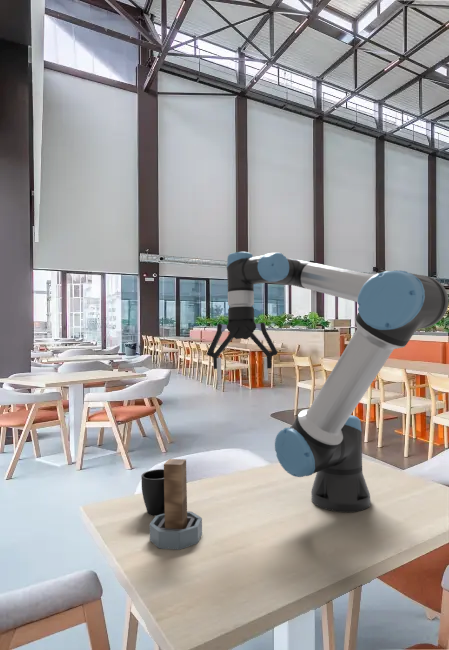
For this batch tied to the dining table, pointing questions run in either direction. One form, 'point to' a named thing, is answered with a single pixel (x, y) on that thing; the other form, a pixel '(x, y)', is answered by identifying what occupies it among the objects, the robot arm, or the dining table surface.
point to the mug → (153, 491)
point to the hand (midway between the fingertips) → (242, 380)
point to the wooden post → (175, 494)
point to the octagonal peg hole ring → (175, 532)
